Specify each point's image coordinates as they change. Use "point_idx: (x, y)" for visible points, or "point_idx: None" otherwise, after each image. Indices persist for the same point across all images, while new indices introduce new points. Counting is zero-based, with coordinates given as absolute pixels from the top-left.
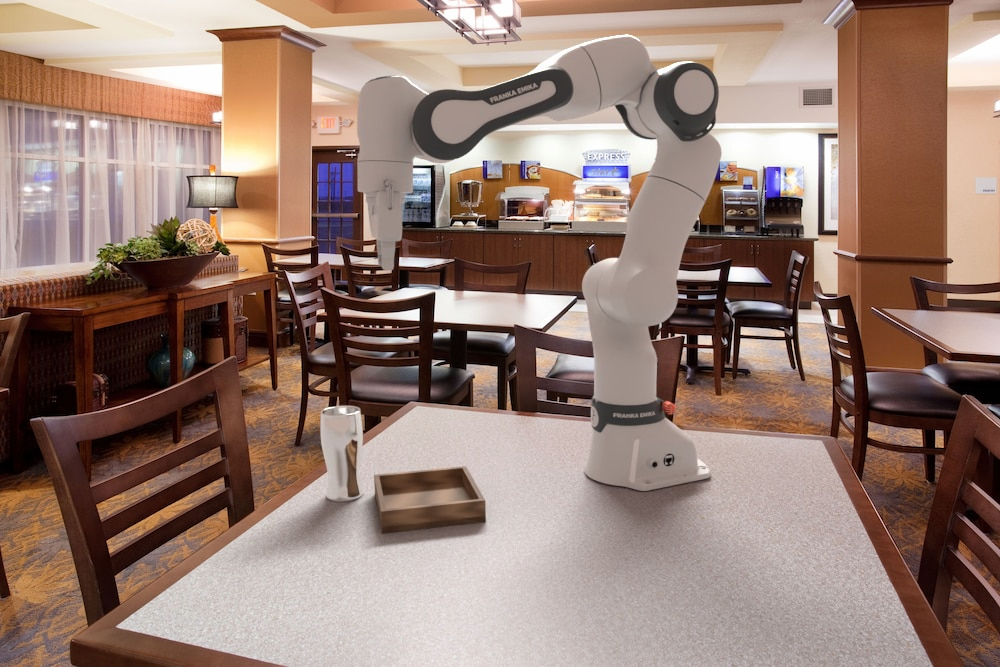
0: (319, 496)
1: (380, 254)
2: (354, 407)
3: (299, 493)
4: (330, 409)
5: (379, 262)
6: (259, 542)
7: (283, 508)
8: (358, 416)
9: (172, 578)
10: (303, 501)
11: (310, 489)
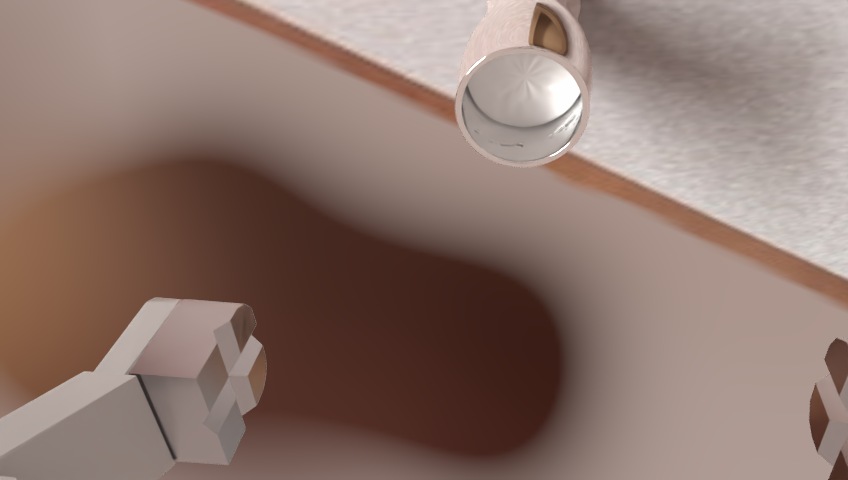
0: None
1: (159, 452)
2: (484, 64)
3: None
4: (472, 137)
5: (256, 397)
6: (742, 172)
7: None
8: (555, 47)
9: (828, 284)
10: None
11: None
